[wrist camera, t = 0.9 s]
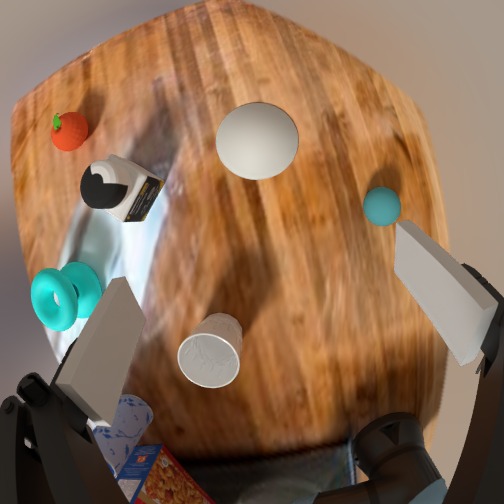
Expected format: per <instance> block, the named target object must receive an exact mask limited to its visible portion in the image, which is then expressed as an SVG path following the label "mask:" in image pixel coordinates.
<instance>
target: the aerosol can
mask: <svg viewBox="0 0 504 504" xmlns="http://www.w3.org/2000/svg"><path fill="white" fill-rule="evenodd" d="M152 420H153V412H152V410H151V408H150V407H149V405H148V404H147V403H146V402H145V401H144V400H142V399H141V398H139V397H137V396H135V395H132V394H125V395H122V396H121V397H120V399H119V402H118V406H117V409H116V412H115V416H114V419H113V423H112V427H108V426H99V425H97V426H96V427H95V429H94V430H93V431H92V432H93V435H94V437H95V439H96V441H97V443H98V446H99V448H100V450H101V452H102V454H103V456H104V458H105V460H106V462H107V464H108V466H109V468H110V470H111V471H112V473H113V475H114V477H116V476H117V475H118V474H119V473H120V471H121V469H122V468H123V466H124V464H125V463H126V461H127V460H128V458H129V456H130V455H131V453H132V451H133V450H134V448H135V446H136V445H137V443H138V441H139V440H140V438H141V436H142V435H143V433H144V431H145V430H146V428H147V427H148V425H149V424H150V423H151V422H152Z"/></svg>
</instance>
